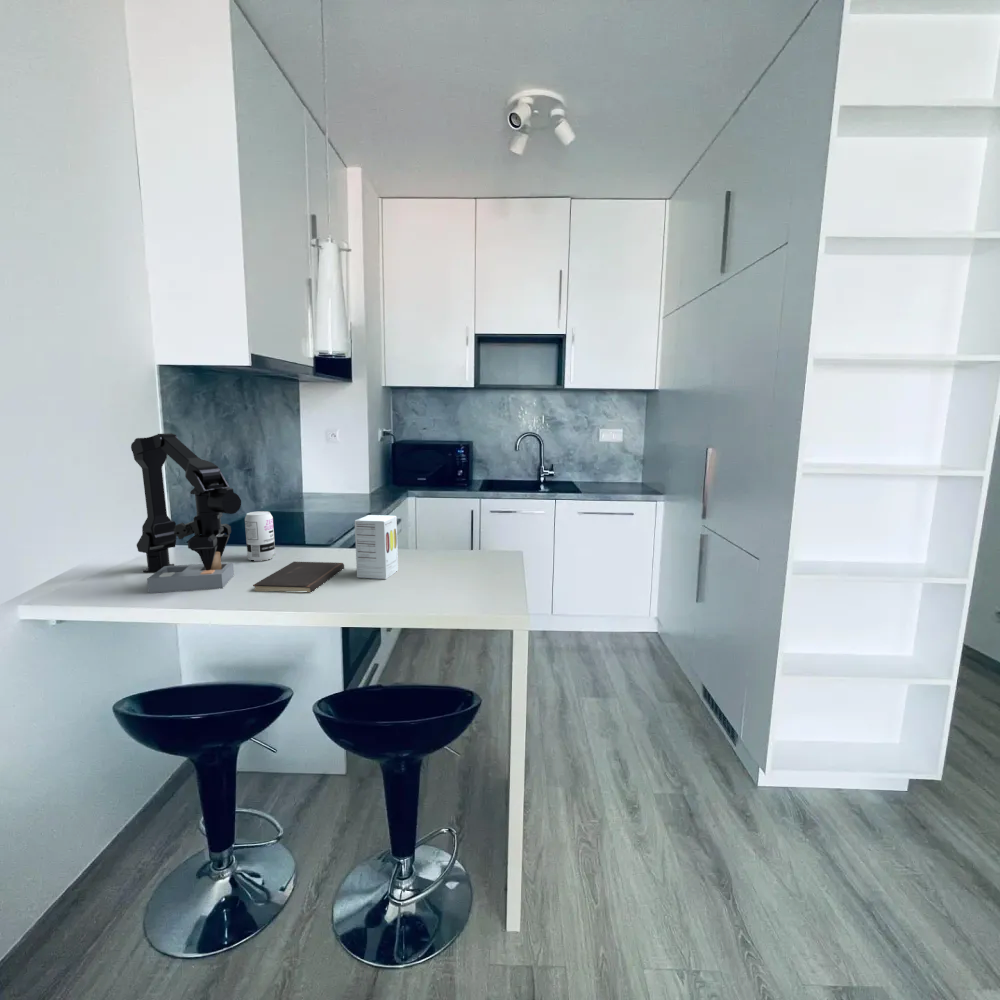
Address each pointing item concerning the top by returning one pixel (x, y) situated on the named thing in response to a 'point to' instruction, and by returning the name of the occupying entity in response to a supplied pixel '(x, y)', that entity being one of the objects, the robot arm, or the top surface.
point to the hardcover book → (299, 576)
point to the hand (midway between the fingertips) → (213, 565)
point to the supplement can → (260, 535)
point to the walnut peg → (216, 562)
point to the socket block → (189, 578)
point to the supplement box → (376, 546)
